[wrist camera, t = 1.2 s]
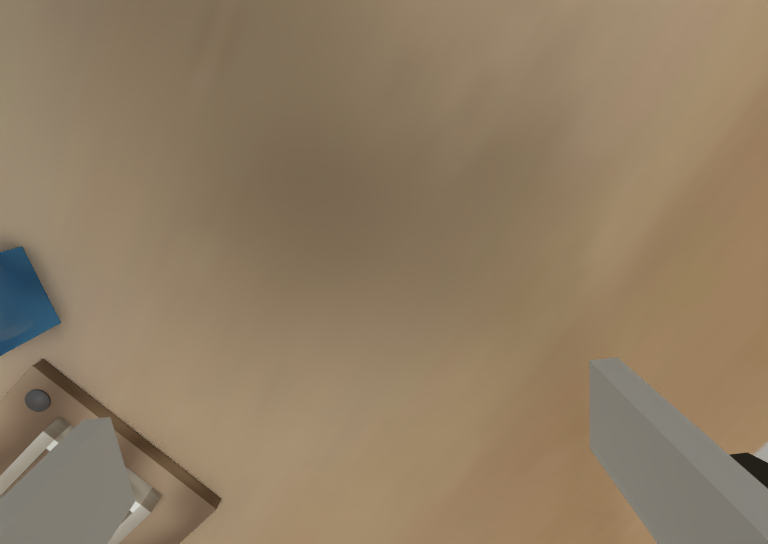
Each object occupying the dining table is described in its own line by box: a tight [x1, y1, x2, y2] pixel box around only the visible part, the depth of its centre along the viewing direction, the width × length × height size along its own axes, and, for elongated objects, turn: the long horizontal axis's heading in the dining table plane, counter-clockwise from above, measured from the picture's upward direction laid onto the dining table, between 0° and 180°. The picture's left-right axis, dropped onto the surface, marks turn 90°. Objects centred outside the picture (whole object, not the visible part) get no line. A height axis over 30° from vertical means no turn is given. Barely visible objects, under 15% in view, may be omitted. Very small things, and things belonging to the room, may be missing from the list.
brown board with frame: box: [0, 359, 221, 544], centre depth 39 cm, size 18×14×3 cm
